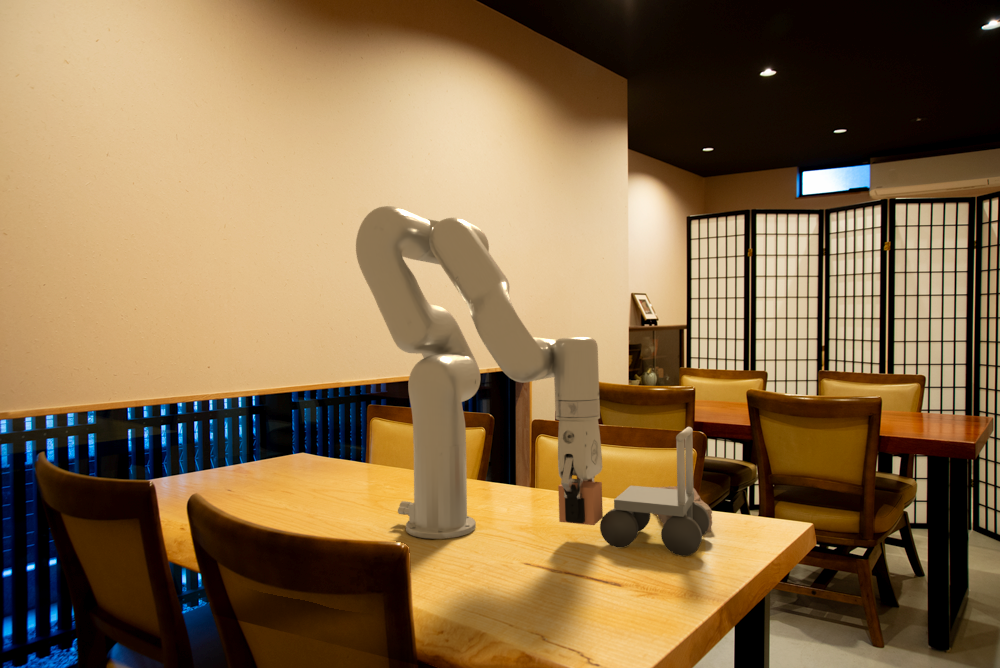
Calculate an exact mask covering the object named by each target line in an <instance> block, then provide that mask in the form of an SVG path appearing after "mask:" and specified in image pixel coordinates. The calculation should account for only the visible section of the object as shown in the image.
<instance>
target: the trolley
mask: <svg viewBox="0 0 1000 668" xmlns="http://www.w3.org/2000/svg"><path fill="white" fill-rule="evenodd" d="M693 431H694V430H693V428H692V427H691V426H687V427H686V428H684V429H683V430H682V431H680V432H679V433H678V434H677V435H676V436H675V440H676V480H677V481H676V483H677V490H676V489H664V488H653V487H654V486H653V487H651V486H640V485H629V486H628V487H627V488H626V489H625V490H624V491H622V492H621V493H620V494H618V495H617V497H616V498H614V499H613V509H611V510H609V511H608V512H606V513H605V514H604V515H603V518H602V519H601V520H600V524H599V529H600V534H601V536H602V538H603V539H604V541H605V542H606V543H607V544H609V546H611V547H614V548H618V549H619V548H620V549H623V548H627V547H629V546H630V545H631V544H632V543H633V542H634V541H635V539H637V537H638V534H639V532H641V531H642V530H644V529H645V528H646V527H647V526H648V524H649V523H650V519H651V514H653V515H657V514H661V515H671V516H672V517H670V518H669V519H668V520H667V521H666V523H665V524H664V525H663V524H662V527H661V533H660V534H661V535H660V536H661V540H662V543H663V545H664V546H665V548H666V549H667V551H669V552H670V553H672V554H674V555H676V556H680V557H688V556H691V555H693V554H694V553H696V551H697V550H698V549H699V547H700V546H701V543H702V539H703V537H704V535H706V533H708V532H707V530H708V527H709V524H710V519H709V515H708V513H707V511H706V510H705V509H704V507H702V506H701V505H700V504H698V503H695V502H694V491H693V488H694V458H693V457H694V453H693V452H694V451H693V450H694V449H693V433H694V432H693ZM685 486H686V490H685Z"/></svg>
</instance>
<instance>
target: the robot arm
mask: <svg viewBox="0 0 1000 668" xmlns="http://www.w3.org/2000/svg"><path fill="white" fill-rule="evenodd" d="M355 253H356V254H355V256H356V259H357V264H358V267H359V269H360V271H361V273H362V275H363V278H364V280H365V282H366V283H367V285H368V287H369V290H370V292H371V294H372V295H373V297H374V300H375V302H376V303H375V304H376V305H377V308H378V309H379V312H380V314H381V316H382V318H383V320H384V323H385V325H386V327H387V329H388V331H389V334H390V335H391V338H392V340H393V342H394V344H395V345H396V346H397V348H398V349H400V350H401V351H402V352H405V353H408V354H416V355H417V354H418V355H419V354H421V356H422V359H420V360H419V361H418V362H417V363H416V364H415V365H414V366H413V368H412V369H411V372H410V374H409V377H408V383H407V384H408V385H407V386H408V389H407V390H408V396H409V403H410V408H411V415H412V417H411V418H412V432H413V433H412V434H413V435H412V438H413V440H412V443H413V497H414V498H413V502H411V501H405V500H404V501H403V500H402V501H401V502H400V503H399V507H398V508H397V513H398V515H408V519H409V520H408V521H407V522H406V524H405V531H406V533H408V534H409V535H410V536H413V537H416V538H421V539H433V540H434V539H435V540H436V539H437V540H439V539H440V540H442V539H453V538H459V537H462V536H466V535H468V534H470V533H472V532H473V531H475V529H476V520H475V519H474V518H473V517H471V516H469V515H468V497H467V496H468V495H467V494H468V493H467V492H468V491H467V489H468V488H467V478H468V477H467V441H466V440H467V434H466V433H467V431H466V420H465V413H464V410H463V402H465V401H468V400H469V399H471V398H472V397H474V396H475V395H476V394H477V392H478V390H479V388H480V385H481V372H480V367H479V365H478V363H477V360H476V358H475V356H474V354H473V352H472V349H471V348H470V346H469V344H468V342H467V340H466V338H465V335H464V333H463V332H462V329H461V327H460V326H459V323H458V322H457V320H456V319H455V317H454V316H453V315H452V314H451V312H450V311H448V310H447V309H445V308H444V307H442V306H439V305H436V304H431V303H429V301H428V300H427V299H426V297H425V295H424V293H423V292H422V290H421V286H420V285H419V283H418V281H417V278H416V276H415V275H414V273H413V271H412V270H411V269H410V268H409V266H408V264H407V263H406V262H405V260H404V258H406V259H408V260H409V259H410V260H414V261H418V262H419V261H420V262H425V263H431V264H435V265H440V266H441V268H442V269H443V271H444V273H445V274H446V275H447V277H448V278H449V280H450V281H451V282H452V284H453V286H454V287H455V290H457V291H458V294H459V295H460V296H461V297H462V299H463V300H464V302H465V304H466V306H467V307H468V309H469V313H470V317H471V319H472V321H473V324H474V326H475V329H476V332H477V334H478V337H480V339H481V341H482V343H483V344H484V346H485V348H486V349H487V351H488V352H489V353H490V355H491V357H492V358H493V359H494V361H495V363H496V364H497V366H498V367H499V368H500V370H501V371H502V372H503V373H504V374H505V375H506V376H507V377H508V378H509V379H511V380H513V381H514V382H518V383H530V382H536V381H540V380H545V379H550V378H551V379H552V378H554V379H553V380H554V411H555V412H554V417H555V420H558V436H557V464H558V465H557V468H558V476H559V477H560V479H561V480H560V485H561V484H562V486H563V488H564V498H565V519H566V521H567V522H573V523H572V524H576V523H584V522H585V506H584V498H582V489H583V481H592V482H595V478H596V476H597V475H599V474H600V473H601V472H602V470H603V458H602V457H603V454H602V441H601V434H600V433H601V431H600V426H599V419H601V406H600V405H601V404H600V381H599V380H600V379H599V378H600V377H599V372H600V371H599V348H598V347H599V346H598V343H597V341H596V340H595V339H594V338H592V337H590V336H587V337H586V336H574V337H573V336H572V337H560V338H557V339H556V338H555V339H554V338H553V339H552V338H543V337H535V336H534V337H533V336H532V335H531V332H529V330H528V329H527V327H526V326H525V325H524V323H523V321H522V320H521V318H520V316H519V315H518V313H517V312H516V310H515V308H514V306H513V304H512V301H511V297H510V283H509V280H508V278H507V276H506V275H505V274H504V272H503V271H502V270H501V268H500V266H499V265H498V263H497V262H496V260H495V259H494V258H493V257H492V255H491V253H490V246H489V240H488V237H487V235H486V234H485V233H484V232H483V230H481V229H480V228H479V227H478V226H476V225H474V224H472V223H470V222H468V221H466V220H465V219H462V218H459V217H447V218H444V219H441V220H440V221H438V220H433V219H430V218H429V219H428V218H425V217H421V216H420V215H417V214H415V213H413V212H410V211H408V210H406V209H403V208H400V207H396V206H390V205H389V206H388V205H387V206H385V205H384V206H379V207H377V208H374V209H373V210H371V211H370V212H369V213H368V214H367V215H366V216H365V217H364V218H363V220H362V221H361V224H360V226H359V229H358V231H357V234H356V239H355ZM574 476H575V477H576V478H573V477H574ZM572 483H578V484H577V488H576V486H575V485H574V484H572Z"/></svg>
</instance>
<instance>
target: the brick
mask: <svg viewBox="0 0 1000 668" xmlns="http://www.w3.org/2000/svg"><path fill="white" fill-rule="evenodd" d="M653 488H664V489H676V490H677V486H670V485H669V486H653ZM685 490H686V485H685ZM693 491H694V502H695V503H698V504H700V505H701V506H702V507H704V509H705V510H706V511H707V513H708V515H709V519H710V524H709V527H708V530H707V532H706V533H709V532H710V533H711V532H712V526H713V515H712V514H713V510H712V509H711V507H710V506H709V504H707V503H706V502H704V500H702V499H701V496H700V495H699V493H698V492H697V490H696V489H695V488H694V487H693ZM657 515H658V516H657ZM656 516H657V518H659V520H660V521H661V523H662V526H663V525H664V524H665V523H666V521H667V520H668V519H669V518H670V517H672V516H671V515H661V514H656Z"/></svg>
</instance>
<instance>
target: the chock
mask: <svg viewBox="0 0 1000 668" xmlns="http://www.w3.org/2000/svg"><path fill="white" fill-rule="evenodd" d="M572 484H574V485H575V486H576V488H577V484H578V483H572ZM602 485H603V483H602V481H594V482H592V481H583V489H582V498H584V506H585V522H584V523H575V524H578V525H584V526H585V525H586V526H587V525H588V526H595V525H596V524H597V523H599V522H600V521H601V520H602V518H603V516H604V515H603V513H604V511H603V486H602ZM557 489H558V490H557V491H558V515H559V516H558V518H559V519H558V521H559V523H567V524H574V523H573V522H567V521H566V519H565V498H564V488H563V486H562V484H561V483H560V484H559V485H558V488H557Z"/></svg>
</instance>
